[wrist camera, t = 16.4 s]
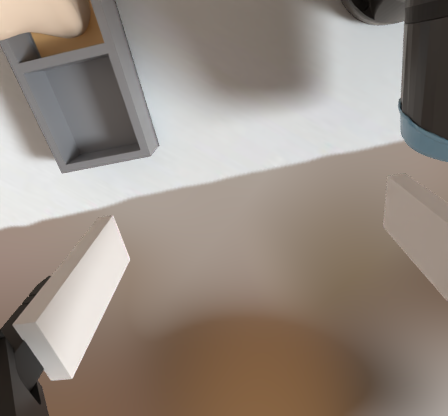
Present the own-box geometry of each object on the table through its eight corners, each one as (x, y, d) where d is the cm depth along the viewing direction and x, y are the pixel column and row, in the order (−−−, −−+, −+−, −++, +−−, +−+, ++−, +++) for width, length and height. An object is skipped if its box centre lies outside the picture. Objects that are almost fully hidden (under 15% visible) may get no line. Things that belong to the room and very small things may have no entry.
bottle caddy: (88, -88, 37) (64, -111, 31) (159, 145, 50) (150, 156, 45) (-17, -57, 38) (-57, -75, 33) (79, 160, 52) (61, 173, 46)
